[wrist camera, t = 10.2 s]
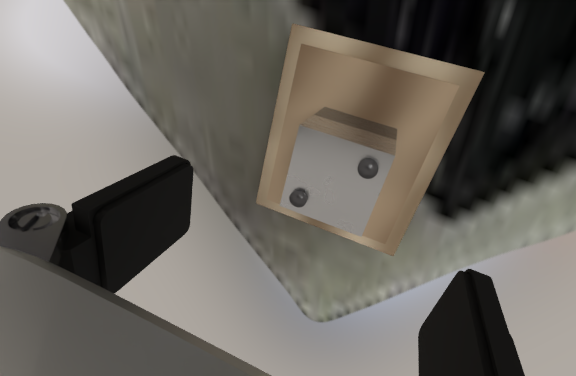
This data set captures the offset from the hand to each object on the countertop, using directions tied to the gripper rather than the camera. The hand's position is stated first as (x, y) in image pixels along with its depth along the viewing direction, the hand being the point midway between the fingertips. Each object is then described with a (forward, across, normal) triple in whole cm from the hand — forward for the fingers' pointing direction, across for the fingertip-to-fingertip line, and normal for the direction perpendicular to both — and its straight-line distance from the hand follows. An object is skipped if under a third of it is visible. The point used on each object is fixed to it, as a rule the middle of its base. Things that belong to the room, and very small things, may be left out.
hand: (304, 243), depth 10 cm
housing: (+13, 0, +1) cm, 13 cm away
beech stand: (+16, +1, +1) cm, 16 cm away
